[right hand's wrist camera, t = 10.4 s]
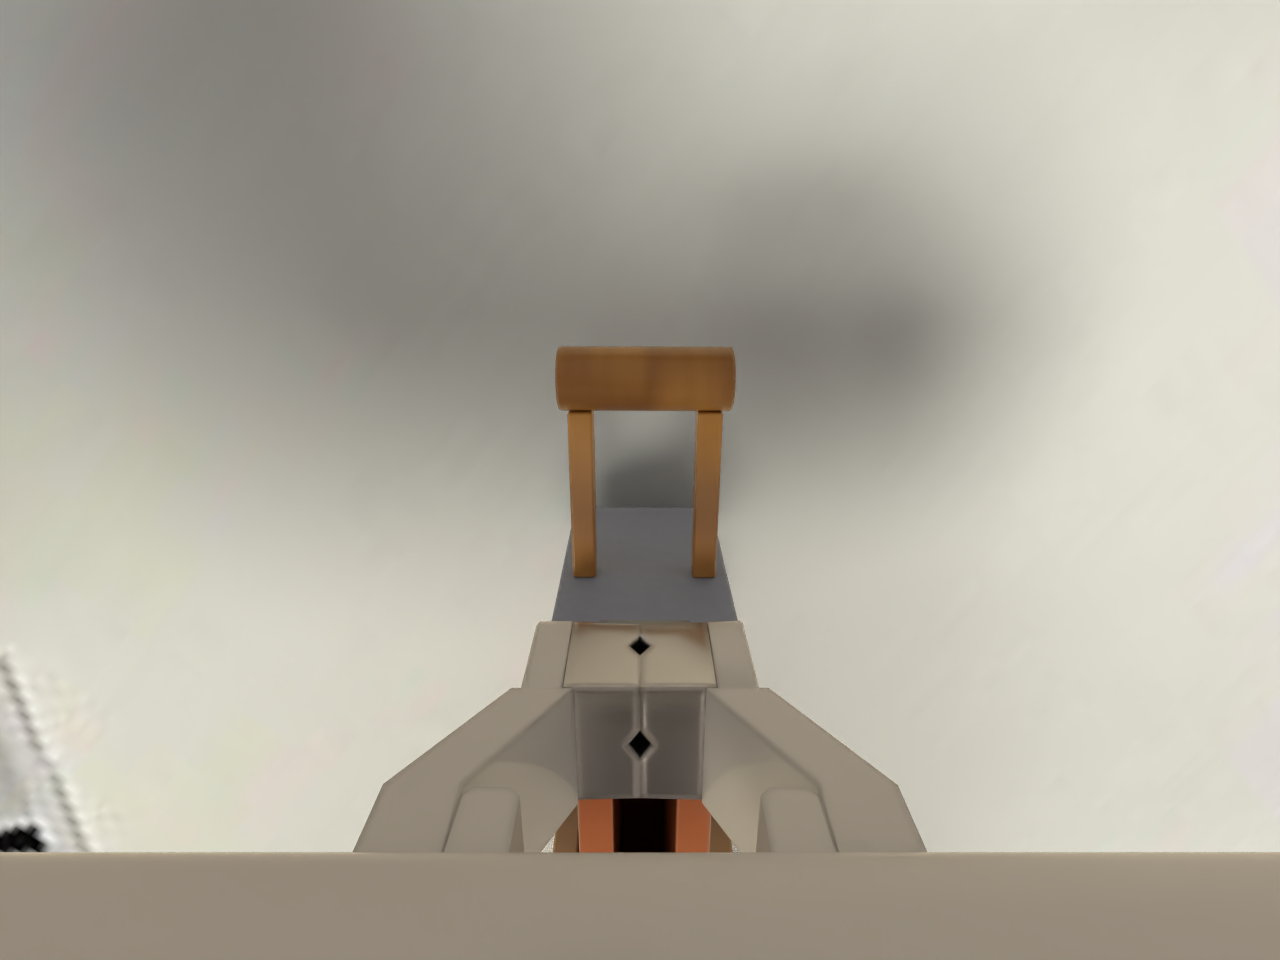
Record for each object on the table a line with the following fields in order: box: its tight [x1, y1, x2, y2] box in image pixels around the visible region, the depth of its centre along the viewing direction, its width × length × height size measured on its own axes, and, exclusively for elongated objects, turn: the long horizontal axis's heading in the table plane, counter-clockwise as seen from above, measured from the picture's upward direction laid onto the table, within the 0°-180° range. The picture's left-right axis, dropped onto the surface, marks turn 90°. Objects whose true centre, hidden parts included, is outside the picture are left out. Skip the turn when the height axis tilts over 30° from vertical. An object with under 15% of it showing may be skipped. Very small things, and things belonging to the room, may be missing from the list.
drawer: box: [552, 346, 738, 853], centre depth 21 cm, size 26×4×9 cm, turn 0°
